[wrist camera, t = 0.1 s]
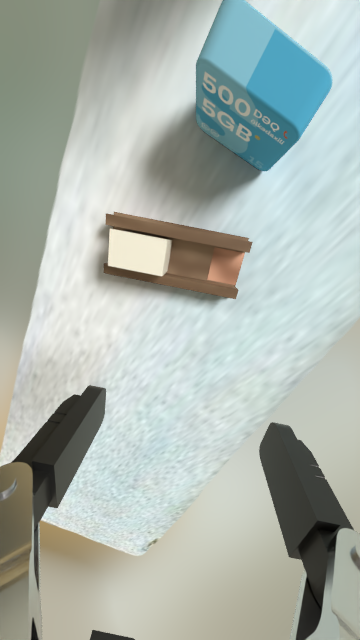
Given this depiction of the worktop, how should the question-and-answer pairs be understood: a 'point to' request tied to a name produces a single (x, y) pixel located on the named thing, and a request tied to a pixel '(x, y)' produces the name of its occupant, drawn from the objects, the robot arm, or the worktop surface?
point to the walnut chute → (188, 255)
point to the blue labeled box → (256, 85)
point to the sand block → (139, 252)
